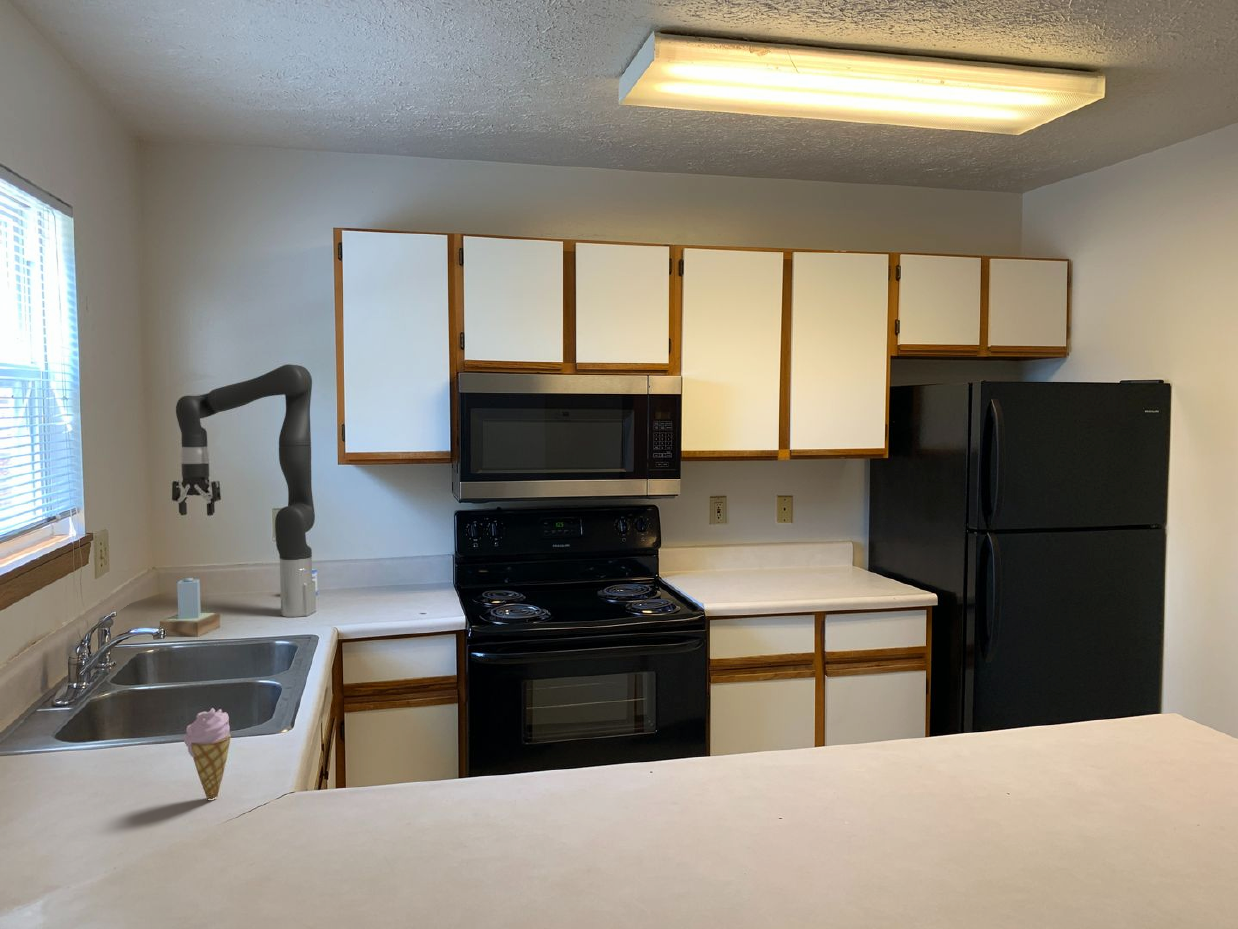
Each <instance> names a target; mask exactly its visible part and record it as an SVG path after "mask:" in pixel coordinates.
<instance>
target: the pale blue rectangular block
mask: <svg viewBox="0 0 1238 929" xmlns="http://www.w3.org/2000/svg"><path fill="white" fill-rule="evenodd" d="M200 580H201V579H200V578H198V579H197V578H196V579H194V577H184V578H183V579H181V580H179V581H178V582H176V583H177V584H176V588H177V612H178V613H177V615H178V619H191V618H199V616H200V615H201V613H202V610H201V609H202V608H201V606H202V605H201V585H200V584H201V583H200V582H201V581H200Z"/></svg>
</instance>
